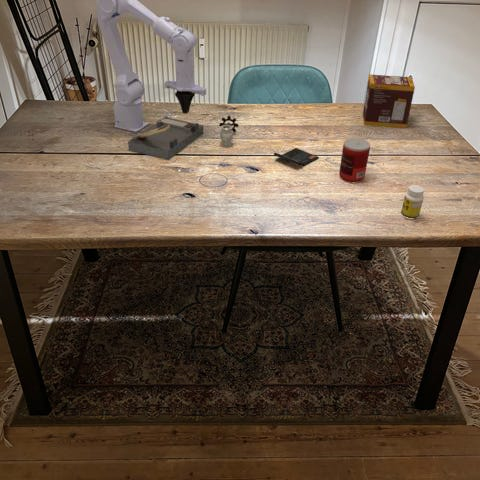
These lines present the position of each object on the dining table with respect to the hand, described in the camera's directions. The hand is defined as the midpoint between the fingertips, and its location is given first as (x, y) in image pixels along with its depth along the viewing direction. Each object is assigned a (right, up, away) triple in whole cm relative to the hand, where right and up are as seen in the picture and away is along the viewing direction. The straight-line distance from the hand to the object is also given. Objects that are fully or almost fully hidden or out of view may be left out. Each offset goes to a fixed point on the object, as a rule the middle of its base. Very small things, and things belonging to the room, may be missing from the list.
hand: (185, 112), depth 177 cm
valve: (+14, -9, +3) cm, 17 cm away
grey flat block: (-6, -10, +1) cm, 11 cm away
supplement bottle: (+64, -36, -33) cm, 81 cm away
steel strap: (-3, -4, +4) cm, 6 cm away
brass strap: (-10, -8, -8) cm, 15 cm away
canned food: (+52, -24, -16) cm, 59 cm away
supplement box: (+71, +1, +20) cm, 74 cm away
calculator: (+36, -17, -7) cm, 41 cm away
